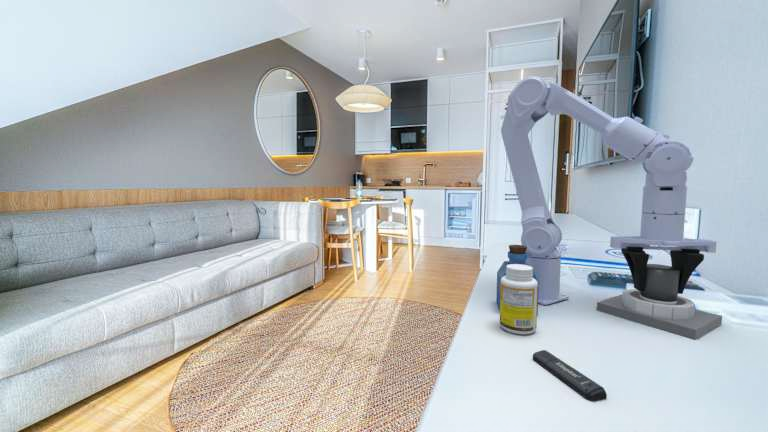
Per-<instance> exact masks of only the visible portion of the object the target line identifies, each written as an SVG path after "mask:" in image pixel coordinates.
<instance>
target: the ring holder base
mask: <svg viewBox="0 0 768 432" xmlns="http://www.w3.org/2000/svg"><path fill="white" fill-rule="evenodd" d="M596 311H598V312H601V313H605V314H608V315H612V316H616V317H618V318H622V319H625V320H629V321H631V322H635V323H637V324H638V323H639V324H642V325H646V326H649V327H651V328H654V329H655V328H656V329H658V330H662V331H666V332H668V333H672V334H675V335H678V336H682V337H685V338H688V339H692V340H694V341H695V340H697V339H699V338H701V337H702V336H705V335H706V334H708V333H710V332H711V331H713V330H715V329H717V328H718V327H720V326H722V324H723V323H722V322H723V321H722V320H723V315H719V314H716V313H713V312H708V311H703V310H700V309H696V303H695V302H693V301H692V300H691V299H689V298H687V297H683V296H681V295H678V296H677V305H665V304H658V303H652V302H648V301H644V300H641V299H640V291H638V290H637V289H635V288H634V289H633V288H632V289H631V288H630V289H626V290H623V291H622V294H618V295H615V296H613V297H610V298H606V299H603V300H599V301H597V302H596Z"/></svg>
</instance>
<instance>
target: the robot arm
mask: <svg viewBox="0 0 768 432" xmlns="http://www.w3.org/2000/svg"><path fill="white" fill-rule="evenodd" d="M548 84H549V87H548ZM548 84H547V82H546V81H545V79H544V78H542V77H540V76H537V75H531V76H526V77H524V78H522V79H521V80H520V81H519V82H517V84H516V85H515V87H513V89H512V90H511V92H510V94H509V95H508V96H507V107H506V111H505V114H504V116H503V121H502V124H501V128H500V133H501V134H500V135H501V138H502V141H503V146H504V149H505V153H506V157H507V160H508V165H509V168H510V171H511V172H510V173H511V177H512V179H513V183H514V186H515V191H516V194H517V199H518V202H519V205H520V211H521V219H520V222H521V223H520V224H521V226H522V233H521V235H520V236H521V237H520V243H521V245H523V246H527V249H526V253H528V259H526V262H527V263H528V264H529V265H530V266H531V267H532V268H533V272H534V274H535V276H536V278H537V280H538V282H539V292H538V304H540V305H544V306H548V305H550V304H555V303H558V302H561V301H565V300H569V296H568V295H566V294H562V293H560V286H561V285H560V284H561V266H562V265H561V264H562V263H561V261H562V253H561V252H560V251H559V250H558V248H557V247H558V246H559V245H560V243H561V242H562V239H563V234H562V230H561V229H560V227H559V226H558V225H557V224H556V222H555V221H554V220H553V216H552V213H551V211H550V209H549V207H548V205H547V201H546V198H545V194H544V193H545V192H544V190H543V186H542V182H541V178H540V175H539V171H538V167H537V163H536V161H535V157H534V156H535V155H534V153H533V149H532V145H531V142H530V138H529V133H530V132H531V130H533V128H534V127H535V125H536V124H537V123H538V122H539V121H540V120H541V119H542V118H544V117H545V116H546V115H547V114H548V113H549V115H550V116H558V115H559V116H560V115H566V116H568V117H570V118H572V119H573V120H575V121H577V122H579V123H581V124H583V125H584V126H586V127H589V128H590V129H592V130H594V132H595V131H596V132H597V133H599V134H601V140H602V141H601V142H602V144H603V145H604V146H605V147H607V148H608V149H610V150H612V151H613V152H615V153H617V154H618V155H621V156H623V157H624V158H626V159H627V160H629V161H630V162H632V163H634V164H638V163H640V164H642V168H643V170H644V171H645V179H644V180H645V183H644V186H643V187H642V188H643V189H642V201H641V202H642V203H641V220H640V234H639V235H640V236H610V240H609V242H610V244H609V247H610V248H612V249H615V250H617V249H618V250H620V251H621V253H622V255H623V257H624V259H625V261H626V263H627V266H628V267H629V270H630V271H629V272H630V273H631V277H632V278H631V279H632V281H633V282H632V283H633V288H634V289H637V290H638V291H644V287H645V272H646V267H647V264H648V262H649V259H650V254H649V253H647V252H646V251H645V250H655V251H656V250H658V251H659V250H660V251H669V254H670V261H671V262H670V263H671V267H675V268H678V269H679V270H680V275H679V286H678V295H683V294H684V291H685V289H686V286H687V283H688V281H689V280H690V277H691V276H692V274H693V273H694V272H695V270H696V269H697V267H698V266H699V265H700V264H701V263H703V262H704V260H705V254H704V253H712V254H713V253H716V252H717V241H716V240H712V239H704V238H703V239H702V238H701V239H700V238H699V239H698V238H686V237H684V234H685V219H686V218H685V217H686V207H687V193H688V187H687V185H686V184H687V180H688V175H687V170H689V168H690V167H691V166H692V164H693V162H694V157H693V156H692V152H691V151H690V148H689V147H688V146H687V145H685V144H683V143H682V142H679V141H668V140H669V139H670V138H671V136H670V135H669V134H668V133H663V134H661V133H659V132H657V131H655V130H654V129H652V128H650V127H648V126H646V125H644V124H643V121H644V120H643V119H642V118H641V117H638V116H635V117H634V118H632V117H630V116H621V117H615V118H614V117H612V115H610V114H608V113H606V112H604V111H602V110H601V109H600V108H598V107H596V106H594V105H593V104H591V103H589V102H588V101H586V100H585V99H583V98H581V97H580V96H578V95H576V94H575V93H573V92H571V91H570V90H568V89H566V88H564V87H562V86H560V85H559V84H556V83H554V82H552V81H548ZM700 252H701V253H700ZM703 252H704V253H703Z"/></svg>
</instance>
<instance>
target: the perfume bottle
mask: <svg viewBox="0 0 768 432" xmlns="http://www.w3.org/2000/svg"><path fill="white" fill-rule="evenodd" d="M508 248H509V251H507V258H508V261H507V260H504V261H503V263H502V264H501V266H499V269H498V270H497V272H496V276H497V277H496V297H495V298H496V302H495V303H496V305H497V308H498V310H499V311H500V289H501V278H502V277H504V276H506V266H507V265H509V264H522V265H528V266H530V265H529V264H528V263H527V262H526V259H528V253H526V249H527V246H523V245H522V244H510V245H508ZM533 278H534V279H535V280H536V281H537V282H538V280H537V278H536V276H535V274H534V272H533ZM538 292H539V282H538ZM538 313H539V303H538V298H537V318H538V315H539V314H538Z"/></svg>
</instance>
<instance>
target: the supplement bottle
mask: <svg viewBox="0 0 768 432" xmlns="http://www.w3.org/2000/svg"><path fill="white" fill-rule="evenodd" d="M537 298H538V282H537V281H536V280H535V279H534V278H533V268H532V267H531V266H528V265H522V264H509V265H507V266H506V276H504V277H502V278H501V289H500V310H499V325H500V327H501V328H502V329H503V330H504V331H506V332H509V333H512V334H515V335H525V336H526V335H532V334H533V333H535V332H536V330H537V319H538V317H537Z"/></svg>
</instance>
